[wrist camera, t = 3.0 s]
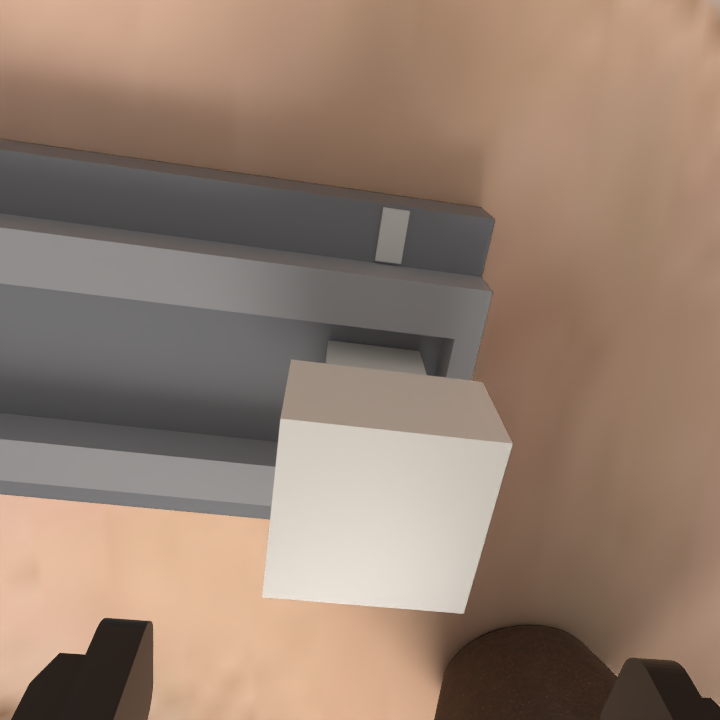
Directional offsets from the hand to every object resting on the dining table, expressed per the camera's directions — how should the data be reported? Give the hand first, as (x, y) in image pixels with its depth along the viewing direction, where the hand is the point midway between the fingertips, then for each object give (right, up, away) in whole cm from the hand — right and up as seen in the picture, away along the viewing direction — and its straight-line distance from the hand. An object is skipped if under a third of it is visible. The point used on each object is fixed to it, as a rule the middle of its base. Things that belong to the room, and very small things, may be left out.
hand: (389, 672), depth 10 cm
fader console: (-9, +6, +11) cm, 16 cm away
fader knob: (0, +4, +10) cm, 11 cm away
